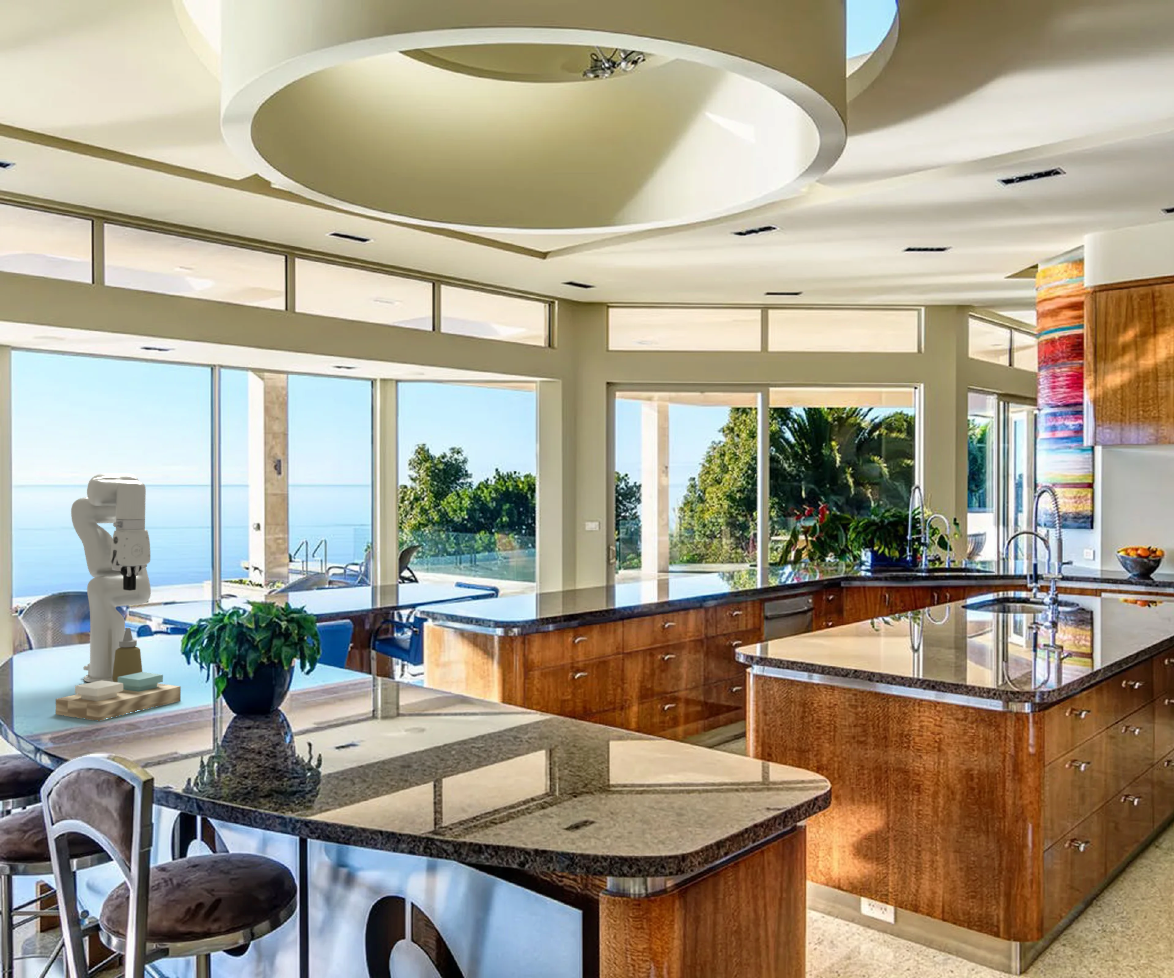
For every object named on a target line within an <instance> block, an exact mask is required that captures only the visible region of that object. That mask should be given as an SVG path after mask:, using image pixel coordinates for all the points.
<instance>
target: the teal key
mask: <svg viewBox="0 0 1174 978" xmlns="http://www.w3.org/2000/svg"><path fill="white" fill-rule="evenodd" d="M163 681H164V674H161V673H153V672H144V671H142V672H140V673H135V674H130V675H125V676H120V677H118V683H123V690H131V691H138V692H140V691H144V690H148V689H153V688H157V683H159V684H161V683H163Z"/></svg>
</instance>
